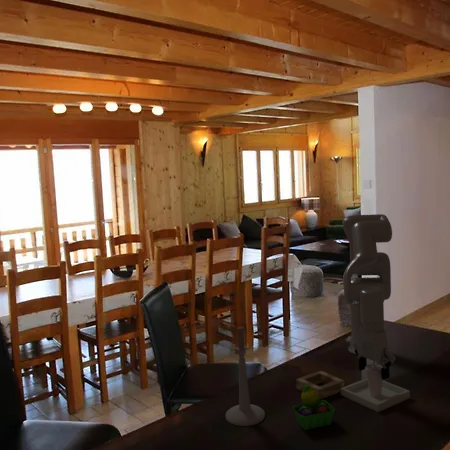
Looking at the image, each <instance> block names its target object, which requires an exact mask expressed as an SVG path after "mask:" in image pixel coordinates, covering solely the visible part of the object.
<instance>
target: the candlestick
mask: <svg viewBox="0 0 450 450" xmlns="http://www.w3.org/2000/svg"><path fill="white" fill-rule="evenodd" d="M236 336H237V346H236V347H235V350H237V355H238V395H239V396H238V398H239V399H238V403H239V404H237V405H234V406H232V407H230V408H229V409H228V410H227V411H226V412H225V420H226V422H228V423H229V424H232V425H234V426H239V427H247V426H248V427H249V426H254V425H257V424H259V423H261V422H263V420H265V417H266V413H265V409H263V408H262V407H260V406H259V405H255V404H251V399H250V394H249V393H250V392H249V385H248V384H249V383H248V375H247V365H246V358H245V354H246V352H247V351H246V350H247V349H248V347H247V346H245V339H244V338H245V336H244V327H243V326H238V327H237V328H236Z"/></svg>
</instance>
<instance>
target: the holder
mask: <svg viewBox="0 0 450 450" xmlns="http://www.w3.org/2000/svg"><path fill="white" fill-rule="evenodd" d="M295 382H296V383H295V384H296V385H295V386H296V388H295V389H297V390H299V391H301V392H303V386H304V385H307V384H308V385H310V386H312V387H313V388H314V390H315V391H316V392H317V394H318V396H319V400H318V401H320V399H321V400H324V399H326V398H328V396H329V397H331V396H334V395H336V394H338V392H339V393H341V392H340V391H341V389H340V388H343V387H345V384H346V383H345V380H344V379H341V378H339V377H337V376H335V375H333V374H330V373H327V372H325V371H323V370H318V371H315V372H312V373H309V374H307V375H304V376H300V377H299V378H296V379H295ZM318 384H323V385H320V386H319V385H318ZM325 397H326V398H325ZM323 398H324V399H323Z"/></svg>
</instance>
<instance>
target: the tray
mask: <svg viewBox="0 0 450 450" xmlns="http://www.w3.org/2000/svg"><path fill="white" fill-rule="evenodd" d="M340 389H341V392H340V396H341V395H342V397H343V396H344V397H343V398H345V397H346V398H345V399H347V398H348V400H350V401H352V402H354V403H357V404H358V405H360V406H363V407H364V408H367V409H368V410H371V411H373V412H375V413H379V412H382V411H384V410H386V409H388V408H390V407H393V406H396V405H398V404H400V403H402V402H404V401H406V400H408V399H410V398H411V397H410V396H411V393H410V390H409V389H406V388H403V387H400V386H399V385H396V384H393V383H390V382H388V381H386V380H383V383H382V393H381V397H372V396H370V392H369V386H368V380H367V377H366V378H364V379H362V380H358V381H355V382H354V383H351V384H348V385H346V386H345V387H343V388H340Z"/></svg>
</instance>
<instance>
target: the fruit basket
mask: <svg viewBox="0 0 450 450" xmlns="http://www.w3.org/2000/svg"><path fill="white" fill-rule="evenodd" d="M300 398H301V402H302V403H301V404H297V405H293V406H292V411H294V414H295V417H296V420H297V423H298V424H299V426H300V427H302V429H303V430H304V431H307V430H310V429H316V428H321V427H322V428H323V427H325V426H330V425H332V422H333V418H334V414H335V412H336V411H335V410H336V409H335V408H334V407H333V406H332V405H331V404H330V403H329V402H328V401H327V400H325V399H321V400H318V399H319V396H318V394H317V392H316V391H315V390H314V388H313V387H312V386H310V385H308V384H307V385H304V386H303V391H301V397H300Z"/></svg>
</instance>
